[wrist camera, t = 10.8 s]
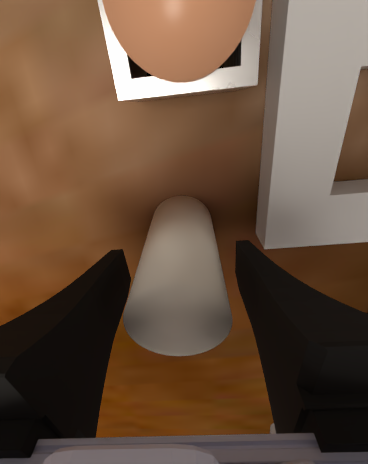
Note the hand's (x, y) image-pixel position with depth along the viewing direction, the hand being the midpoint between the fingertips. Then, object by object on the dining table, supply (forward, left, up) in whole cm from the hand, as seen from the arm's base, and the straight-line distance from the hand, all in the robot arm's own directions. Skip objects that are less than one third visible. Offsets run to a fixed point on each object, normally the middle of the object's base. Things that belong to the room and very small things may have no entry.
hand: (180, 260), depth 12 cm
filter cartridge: (0, 0, -4) cm, 4 cm away
